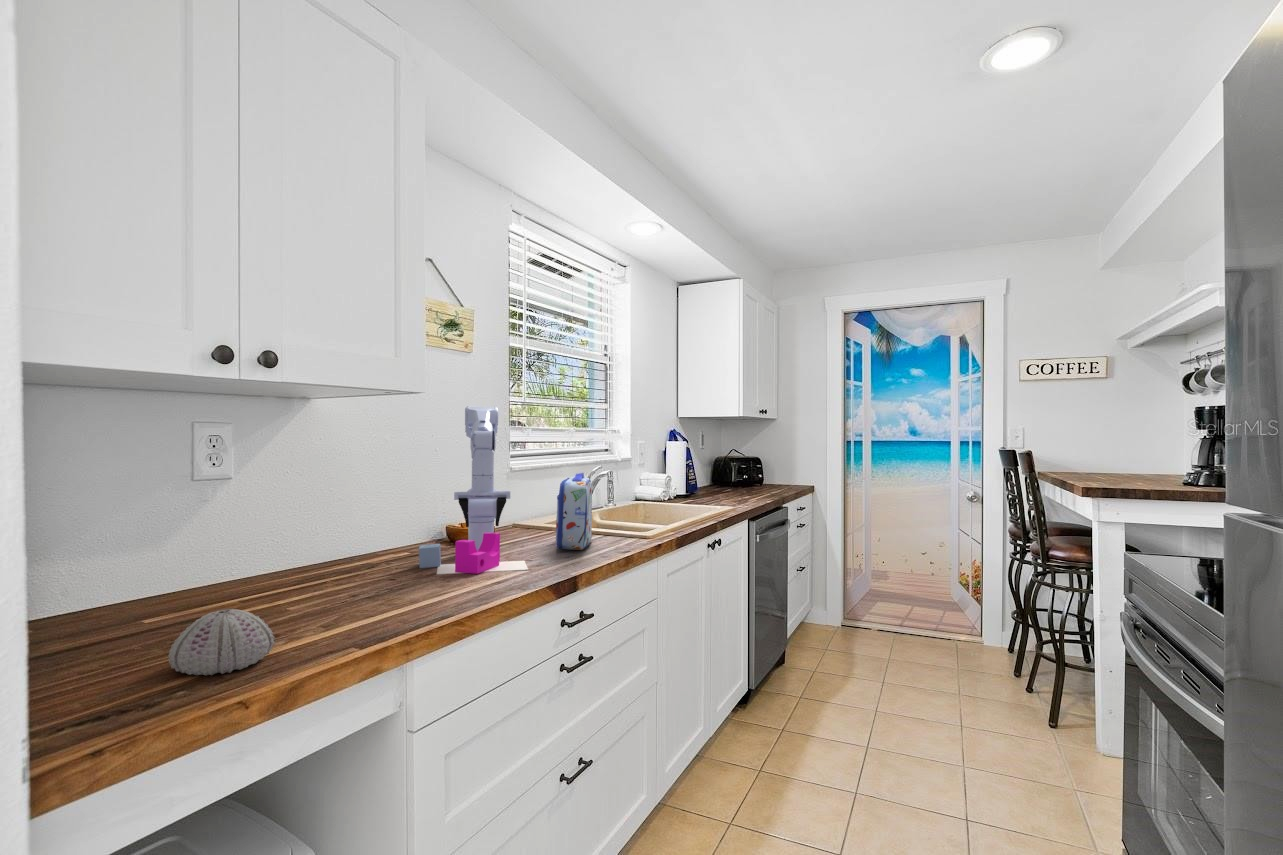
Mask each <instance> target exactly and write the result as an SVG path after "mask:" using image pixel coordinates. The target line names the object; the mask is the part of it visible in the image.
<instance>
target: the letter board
mask: <svg viewBox="0 0 1283 855" xmlns="http://www.w3.org/2000/svg"><path fill="white" fill-rule="evenodd" d="M436 569H437V570H436V575H453V574H463V573H462V572H455V563H446V564H445V563H444V564H443V563H441V565H440V566H439V567H437V568H436ZM516 571H529V569H528V566H527V564H526V561H525V560H512V561H511V560H508V561H499V566H496V567H494V568H491V569H489V570H486V571H483V572H482V573H492V572H493V573H494V572H516Z"/></svg>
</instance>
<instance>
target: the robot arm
mask: <svg viewBox="0 0 1283 855" xmlns="http://www.w3.org/2000/svg"><path fill="white" fill-rule="evenodd" d="M464 425H465V427H464V428H465V429H464V430H465V432H464V433H465V436H466V437H468V438H470V453H471V459H472V460H471V488H469V489H468V490H467V491H454V492H453V493H454V498H453V500H454V501H455V500H457V501H458V505H459V507H460V509H461V511H462V514H463V518H464V520H465V528H468V530H467V531H468V532H467V534H468V535H467V536H468V539H467V540H474V541H475V546H476V549H477V551H478V549H479V548H480V546H481V543H482V540H483V534H484V533H487V532H491V533H495V526H496V527H499V524H500V519H501V515H502V512H503V510H504V508H505V505H506V503H507V499H508V500H510V499H511V491H509V490H495V489H494V487H495V486H494V484H495V483H494V479H495V478H494V476H495V475H494V474H495V473H494V471H495V470H494V468H495V467H494V466H495V461H494V460H495V458H494V457H495V456H494V455H495V452H496V444H497V439H496V436H497V433H498V425H499V408H498V407H497V406H494V407H493V406H469V405H468V406H466V407H465V408H464Z"/></svg>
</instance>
